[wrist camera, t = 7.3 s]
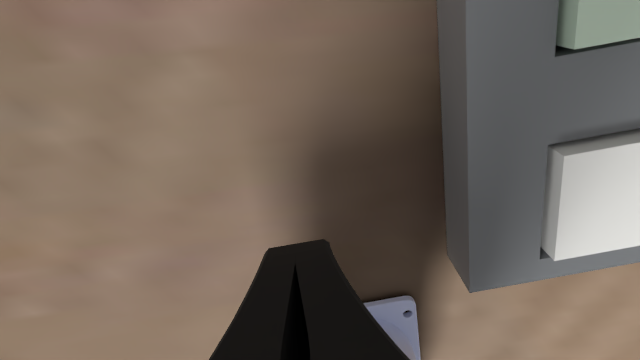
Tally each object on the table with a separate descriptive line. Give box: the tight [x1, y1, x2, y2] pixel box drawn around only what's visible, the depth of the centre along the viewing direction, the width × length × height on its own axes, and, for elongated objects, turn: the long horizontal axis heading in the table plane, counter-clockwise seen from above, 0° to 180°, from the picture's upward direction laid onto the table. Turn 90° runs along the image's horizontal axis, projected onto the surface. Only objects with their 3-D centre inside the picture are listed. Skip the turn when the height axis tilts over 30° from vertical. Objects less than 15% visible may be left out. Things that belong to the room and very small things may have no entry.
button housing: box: [437, 0, 640, 293], centre depth 17 cm, size 17×12×3 cm
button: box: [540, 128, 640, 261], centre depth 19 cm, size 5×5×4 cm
